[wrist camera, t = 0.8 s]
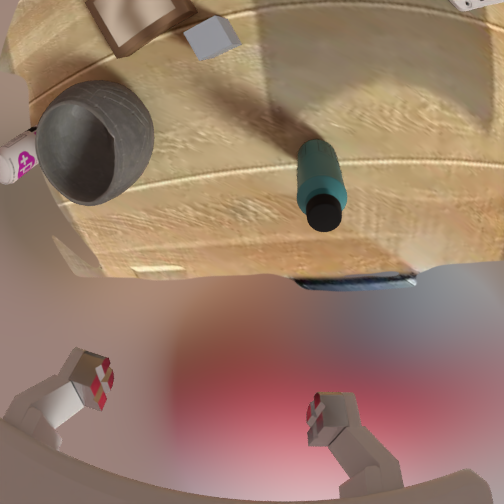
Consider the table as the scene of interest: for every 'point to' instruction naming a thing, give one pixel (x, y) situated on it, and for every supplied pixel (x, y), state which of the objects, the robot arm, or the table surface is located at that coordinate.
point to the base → (137, 21)
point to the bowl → (94, 141)
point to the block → (212, 37)
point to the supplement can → (18, 156)
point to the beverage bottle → (320, 185)
